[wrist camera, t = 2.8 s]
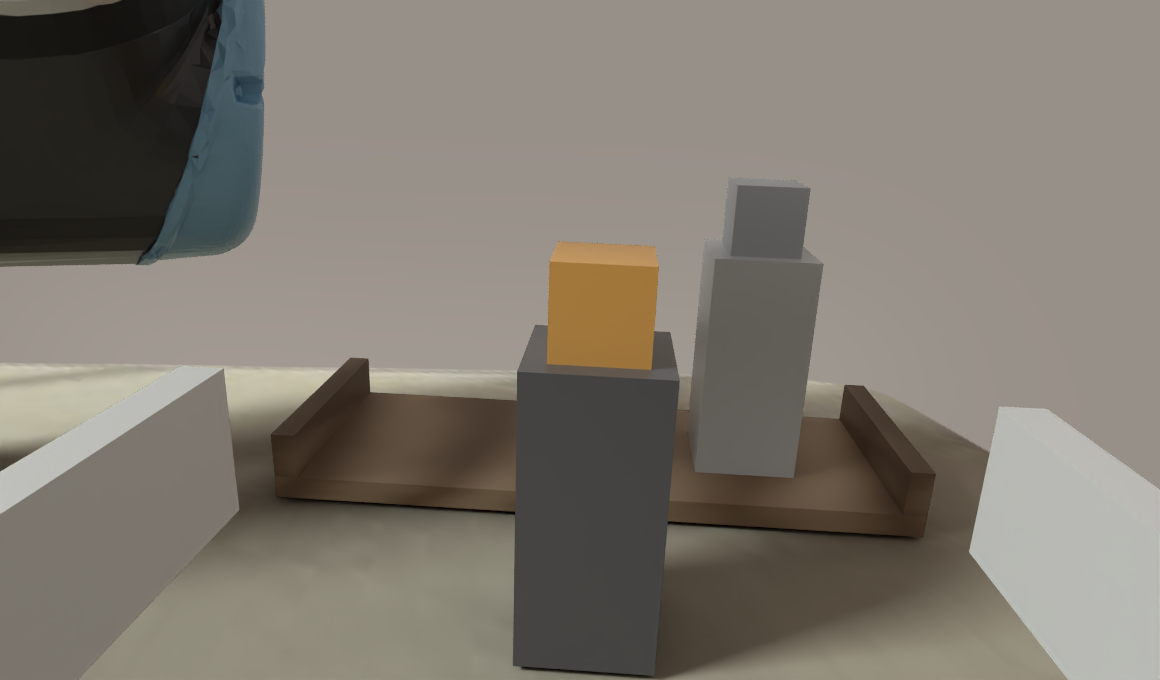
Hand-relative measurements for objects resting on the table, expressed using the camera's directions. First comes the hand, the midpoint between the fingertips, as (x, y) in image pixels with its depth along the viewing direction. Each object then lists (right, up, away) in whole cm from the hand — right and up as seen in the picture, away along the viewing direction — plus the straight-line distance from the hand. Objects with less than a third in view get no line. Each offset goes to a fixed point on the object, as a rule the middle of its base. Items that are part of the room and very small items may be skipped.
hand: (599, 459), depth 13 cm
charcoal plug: (0, -8, +13) cm, 15 cm away
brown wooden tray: (+1, -4, +25) cm, 25 cm away
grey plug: (+7, -3, +24) cm, 25 cm away
